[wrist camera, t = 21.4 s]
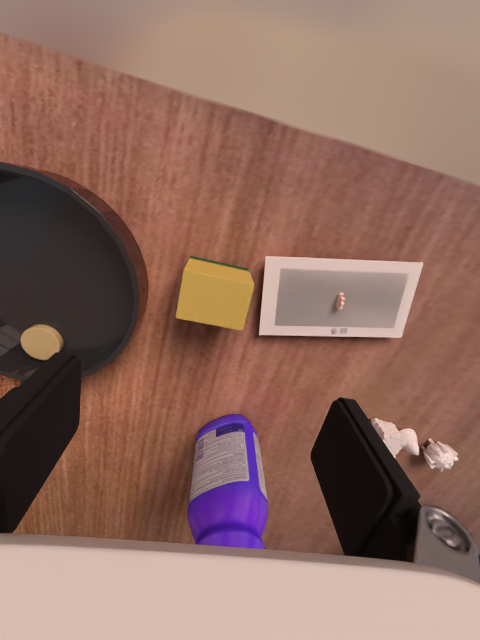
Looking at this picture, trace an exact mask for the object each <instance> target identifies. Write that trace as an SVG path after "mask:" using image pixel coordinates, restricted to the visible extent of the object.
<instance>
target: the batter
mask: <svg viewBox="0 0 480 640" xmlns="http://www.w3.org/2000/svg"><path fill="white" fill-rule="evenodd" d="M21 345H22V348H23V349H24V350H25V352H26V353H27V354H29V355H30V356H32V357H34V358H36V359H40V360H48V359H49V358H50V357H51V356H52V355H53V354H54V353H56V352H61V350H62V348H63V339H62V337H61V335H60V333H59V332H58V331H57V330H55V329H54V328H52V327H50V326H47V325H42V324H38V325H34V326H31V327H30V328H28V329H27V330H25V331H24V332H23V334H22V336H21Z"/></svg>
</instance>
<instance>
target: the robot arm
mask: <svg viewBox="0 0 480 640" xmlns="http://www.w3.org/2000/svg"><path fill="white" fill-rule="evenodd" d="M80 391H81V360H78V359H77V357H76V355H74V354H67V353H61V352H56V353H54V354H53V355H52V356H51V357H50V358H49V359H48V360H47V361H46V362H45V363H43V364H42V365H41V366H40V367H39V368H38V369H37V370H36V371H35V372H34V373H33V374H32V375H31V376H29V377H28V378H27V379H26V380H25V381H24V382H23V383H22V384H21V385H20V386H19V387H15V388H13V389H11V390H10V391H9V392H8V393H6V394H5V395H4V396H3V397H2V398H1V399H0V640H480V556H478V548H477V545H476V542H475V540H474V538H473V537H472V535H471V533H470V532H469V531H468V530H467V528H466V527H465V526H464V525H463V524H462V523H461V522H460V521H459V520H458V519H457V518H456V517H454V516H453V515H451V514H450V513H449V512H447V511H445V510H444V509H442V508H440V507H437V506H434V505H424V506H422V507H421V505H420V504H419V502H418V499H419V498H420V495H419V493H418V492H417V490H416V489H415V487H414V486H413V484H412V483H411V481H410V480H409V478H408V477H407V475H406V474H405V472H404V471H403V470H402V468H401V467H400V465H399V464H398V462H397V461H396V459H395V458H394V456H393V455H392V453H391V452H390V450H389V449H388V447H387V446H386V445H385V443H384V442H383V440H382V439H381V437H380V436H379V434H378V433H377V431H376V430H375V428H374V427H373V425H372V424H371V423H370V421H369V420H368V418H367V417H366V415H365V414H364V412H363V411H362V409H361V408H360V406H359V405H358V403H357V402H356V401H355V400H353V399H347V398H338V399H337V401H333V403H332V405H331V407H330V409H329V412H328V414H327V416H326V418H325V421H324V423H323V425H322V428H321V430H320V432H319V435H318V437H317V439H316V442H315V444H314V446H313V448H312V451H311V461H312V464H313V467H314V470H315V473H316V476H317V478H318V481H319V484H320V487H321V490H322V493H323V495H324V498H325V501H326V504H327V507H328V510H329V512H330V515H331V518H332V521H333V524H334V527H335V529H336V532H337V535H338V538H339V541H340V544H341V546H342V549H343V552H344V554H345V556H344V555H331V554H318V553H306V552H293V551H280V550H267V549H253V548H240V547H226V546H212V545H198V544H184V543H170V542H155V541H140V540H125V539H110V538H95V537H80V536H60V535H39V534H18V533H13V531H14V530H15V529H16V528H17V526H18V524H19V523H20V521H21V520H22V518H23V516H24V515H25V513H26V512H27V510H28V508H29V507H30V505H31V503H32V502H33V500H34V499H35V497H36V495H37V494H38V492H39V491H40V489H41V487H42V486H43V484H44V482H45V481H46V479H47V478H48V476H49V474H50V473H51V471H52V470H53V468H54V466H55V465H56V463H57V462H58V460H59V458H60V457H61V455H62V453H63V452H64V450H65V449H66V447H67V445H68V444H69V442H70V441H71V439H72V437H73V436H74V434H75V432H76V431H77V428H78V425H79V419H80Z"/></svg>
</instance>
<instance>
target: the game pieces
mask: <svg viewBox="0 0 480 640" xmlns="http://www.w3.org/2000/svg"><path fill="white" fill-rule="evenodd" d="M371 424H372V425H373V427H374V428H375V430H376V431H377V433H378V434H379V436H380V437H381V439H382V440H383V442H384V443H385V445H386V446H387V447H388V449H389V450H390V452H391V453H392V455H393V456H394V458H396V455H397V454H398V453H399V450H401V449H404V450H407V451H408V452H409V453H411V454H413V455H418V454H419V446H418V442H417V436H416V433H415V431H414V430H412V429H402V430H400V431H398V430H397V429H396V426H395V425H394V424H392V423H391V422H386V421H383V420H380V419H379V420H378V418H373V419H371ZM428 441H429V442H430V443H431V444H429V445H428V446H427V448H426V449H425V446H424V447H421V448H422V450H424V451H423V454H424V458H425V460H426V461H427V463H428V464H429V465H430V467H431V469H433V468H435V467H436V468H439V470H440V472H442V471H443V469H445V468H448V469H451V468H450V467H451V466H452V465H453V462H454V461H457V460H458V458H457V457H456V456H457V455H458V453H457V452H455V451H454V450H453V449H452V448H451V447H450V446H449V445H447V444H446V445H444V444H442V443H440V441H437V442H436V443H434V442H433V441H432V439H428ZM395 454H396V455H395ZM418 456H419V455H418Z"/></svg>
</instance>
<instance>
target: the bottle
mask: <svg viewBox="0 0 480 640" xmlns="http://www.w3.org/2000/svg"><path fill="white" fill-rule="evenodd" d="M267 514H268V500H267V494H266V487H265V480H264V473H263V466H262V459H261V452H260V445H259V440H258V436H257V432H256V431H255V429H254V428H253V426H252V425H251V423H250V422H249V420H248V419H246V418H245V417H244V416H242V415H239V414H233V415H227V416H223V417H220V418H218V419H215V420H213V421H211V422H210V423H208V424H207V425H205V426H204V427H203V428H202V429H201V430H200V432H199V434H198V436H197V439H196V446H195V454H194V463H193V472H192V480H191V489H190V498H189V506H188V521H189V524H190V528H191V531H192V534H193V537H194V541H195V542H196V543H195V544H198V545H212V546H226V547H240V548H253V549H265V547H264V544H263V542H262V540H261V536H262V534H263V531H264V528H265V525H266V521H267Z"/></svg>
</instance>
